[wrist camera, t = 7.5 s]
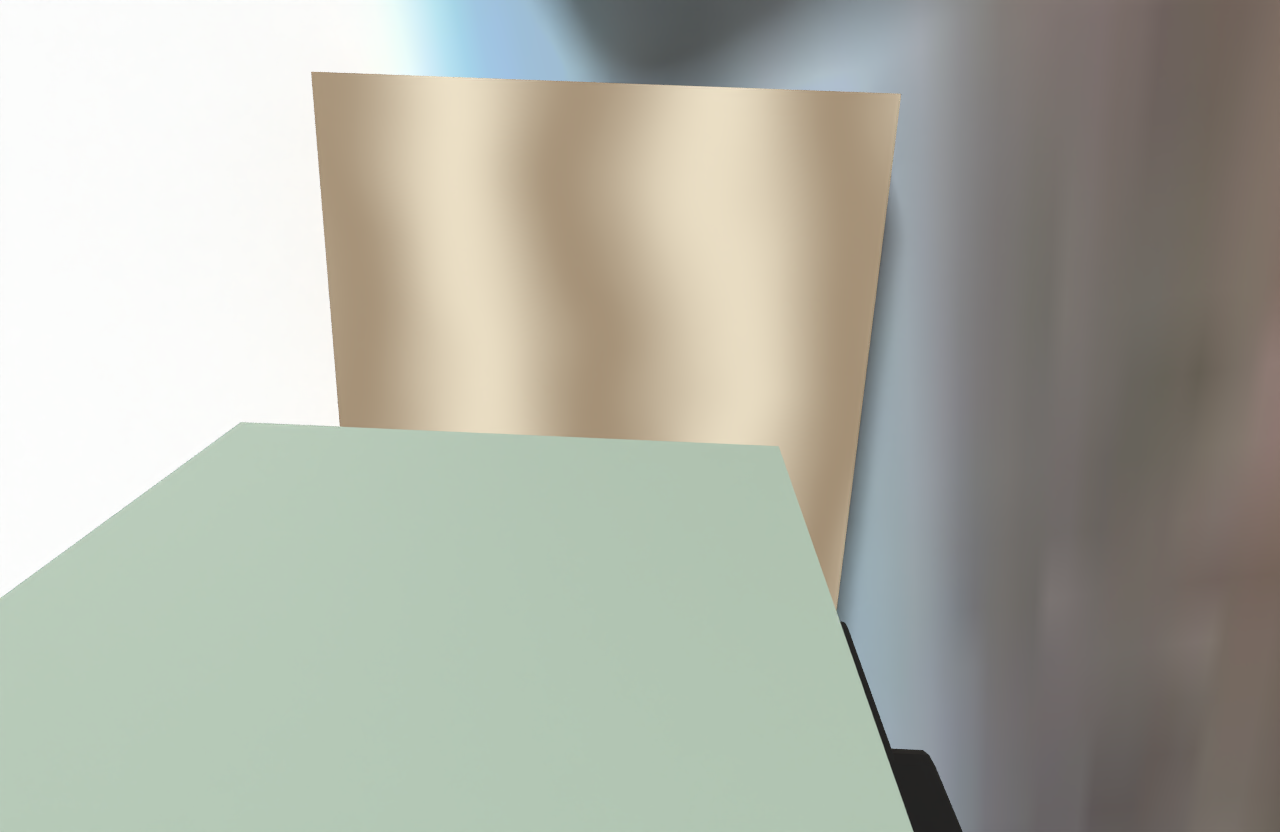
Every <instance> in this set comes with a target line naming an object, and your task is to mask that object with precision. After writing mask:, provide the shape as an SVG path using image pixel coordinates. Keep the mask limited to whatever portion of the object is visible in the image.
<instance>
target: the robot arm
mask: <svg viewBox="0 0 1280 832" xmlns="http://www.w3.org/2000/svg"><path fill="white" fill-rule="evenodd" d="M840 623H841V626H842V629H843V632H844V635H845V637H846V640H847V643H848V646H849V649H850V652H851V655H852V658H853V660H854V663H855V666H856V669H857V672H858V675H859V678H860V680H861V683H862V686H863V689H864V692H865V695H866V698H867V700H868V703H869V706H870V709H871V712H872V715H873V718H874V720H875V723H876V726H877V729H878V732H879V735H880V738H881V741H882V743H883V746H884V749H885V752H886V755H887V758H888V761H889V763H890V766H891V769H892V772H893V775H894V778H895V781H896V783H897V786H898V789H899V792H900V795H901V798H902V801H903V803H904V806H905V809H906V812H907V815H908V818H909V821H910V824H911V826H912V829H913V832H962V829H961V827H960V825H959V822H958V820H957V817H956V815H955V813H954V810H953V808H952V805H951V803H950V801H949V798H948V796H947V793H946V791H945V789H944V786H943V784H942V781H941V779H940V777H939V774H938V772H937V770H936V767H935V765H934V763H933V761H932V760H931V758H930V756H929V755H928V754H927V753H926V752H924V751H923V750H908V749H891V747H890V744H889V741H888V738H887V735H886V733H885V730H884V727H883V724H882V722H881V719H880V716H879V713H878V710H877V708H876V705H875V702H874V699H873V697H872V694H871V691H870V688H869V685H868V683H867V680H866V677H865V674H864V672H863V669H862V666H861V663H860V660H859V658H858V655H857V652H856V649H855V647H854V644H853V641H852V638H851V635H850V633H849V630H848V627H847V625H846V624H845V623H844V622H840Z"/></svg>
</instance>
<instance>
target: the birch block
mask: <svg viewBox="0 0 1280 832" xmlns="http://www.w3.org/2000/svg"><path fill="white" fill-rule="evenodd" d="M311 75H312V87H313V99H314V112H315V124H316V136H317V149H318V161H319V173H320V186H321V198H322V211H323V223H324V235H325V248H326V260H327V272H328V285H329V297H330V309H331V322H332V334H333V346H334V359H335V371H336V384H337V396H338V408H339V421H340V427H358V428H381V429H403V430H426V431H448V432H471V433H493V434H515V435H538V436H560V437H583V438H605V439H628V440H650V441H673V442H695V443H717V444H740V445H762V446H779V449H780V451H781V454H782V457H783V460H784V463H785V466H786V469H787V471H788V474H789V477H790V480H791V483H792V486H793V489H794V492H795V494H796V497H797V500H798V503H799V506H800V509H801V512H802V514H803V517H804V520H805V523H806V526H807V529H808V532H809V534H810V537H811V540H812V543H813V546H814V549H815V552H816V554H817V557H818V560H819V563H820V566H821V569H822V572H823V575H824V577H825V580H826V583H827V586H828V589H829V592H830V595H831V597H832V600H833V603H834V606H835V609H836V610H837V602H838V594H839V586H840V578H841V570H842V562H843V554H844V546H845V538H846V530H847V522H848V514H849V506H850V498H851V490H852V482H853V474H854V466H855V458H856V450H857V442H858V434H859V426H860V418H861V410H862V402H863V394H864V386H865V378H866V370H867V362H868V354H869V346H870V338H871V330H872V322H873V314H874V306H875V298H876V290H877V282H878V274H879V266H880V258H881V250H882V242H883V234H884V226H885V218H886V210H887V202H888V194H889V186H890V178H891V170H892V162H893V154H894V146H895V138H896V130H897V122H898V114H899V106H900V98H901V94H890V93H864V92H837V91H810V90H783V89H757V88H730V87H703V86H677V85H650V84H623V83H596V82H570V81H543V80H516V79H490V78H463V77H436V76H409V75H383V74H356V73H329V72H311Z"/></svg>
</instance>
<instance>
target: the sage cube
mask: <svg viewBox="0 0 1280 832" xmlns="http://www.w3.org/2000/svg"><path fill="white" fill-rule="evenodd" d="M0 832H913V829H912V826H911V824H910V821H909V818H908V815H907V812H906V809H905V806H904V803H903V801H902V798H901V795H900V792H899V789H898V786H897V783H896V781H895V778H894V775H893V772H892V769H891V766H890V763H889V761H888V758H887V755H886V752H885V749H884V746H883V743H882V741H881V738H880V735H879V732H878V729H877V726H876V723H875V720H874V718H873V715H872V712H871V709H870V706H869V703H868V700H867V698H866V695H865V692H864V689H863V686H862V683H861V680H860V678H859V675H858V672H857V669H856V666H855V663H854V660H853V658H852V655H851V652H850V649H849V646H848V643H847V640H846V637H845V635H844V632H843V629H842V626H841V623H840V620H839V617H838V615H837V612H836V609H835V606H834V603H833V600H832V597H831V595H830V592H829V589H828V586H827V583H826V580H825V577H824V575H823V572H822V569H821V566H820V563H819V560H818V557H817V554H816V552H815V549H814V546H813V543H812V540H811V537H810V534H809V532H808V529H807V526H806V523H805V520H804V517H803V514H802V512H801V509H800V506H799V503H798V500H797V497H796V494H795V492H794V489H793V486H792V483H791V480H790V477H789V474H788V471H787V469H786V466H785V463H784V460H783V457H782V454H781V451H780V449H779V446H762V445H740V444H717V443H695V442H673V441H650V440H628V439H605V438H583V437H560V436H538V435H515V434H493V433H471V432H448V431H426V430H403V429H381V428H358V427H336V426H313V425H291V424H269V423H246V422H241V423H239V424H238V425H236V426H235V427H234V428H232V429H231V430H230V431H228V432H227V433H225V434H224V435H223V436H221V437H220V438H219V439H217V440H216V441H215V442H213V443H212V444H210V445H209V446H208V447H206V448H205V449H204V450H202V451H201V452H200V453H198V454H197V455H195V456H194V457H193V458H191V459H190V460H189V461H187V462H186V463H184V464H183V465H182V466H180V467H179V468H178V469H176V470H175V471H174V472H172V473H171V474H169V475H168V476H167V477H165V478H164V479H163V480H161V481H160V482H159V483H157V484H156V485H154V486H153V487H152V488H150V489H149V490H148V491H146V492H145V493H143V494H142V495H141V496H139V497H138V498H137V499H135V500H134V501H133V502H131V503H130V504H128V505H127V506H126V507H124V508H123V509H122V510H120V511H119V512H117V513H116V514H115V515H113V516H112V517H111V518H109V519H108V520H107V521H105V522H104V523H102V524H101V525H100V526H98V527H97V528H96V529H94V530H93V531H92V532H90V533H89V534H87V535H86V536H85V537H83V538H82V539H81V540H79V541H78V542H76V543H75V544H74V545H72V546H71V547H70V548H68V549H67V550H66V551H64V552H63V553H61V554H60V555H59V556H57V557H56V558H55V559H53V560H52V561H51V562H49V563H48V564H46V565H45V566H44V567H42V568H41V569H40V570H38V571H37V572H35V573H34V574H33V575H31V576H30V577H29V578H27V579H26V580H25V581H23V582H22V583H20V584H19V585H18V586H16V587H15V588H14V589H12V590H11V591H9V592H8V593H7V594H5V595H4V596H3V597H1V598H0Z"/></svg>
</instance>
